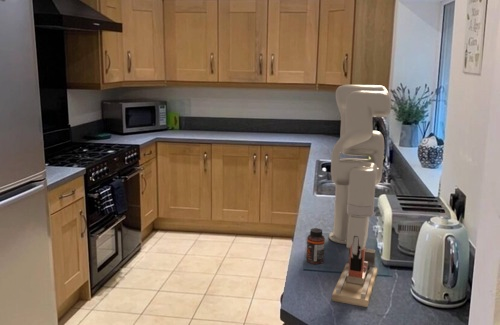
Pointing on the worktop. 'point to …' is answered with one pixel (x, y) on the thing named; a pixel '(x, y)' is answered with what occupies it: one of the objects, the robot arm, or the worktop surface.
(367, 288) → the base
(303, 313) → the worktop surface
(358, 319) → the worktop surface
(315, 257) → the supplement bottle
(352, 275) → the handle
